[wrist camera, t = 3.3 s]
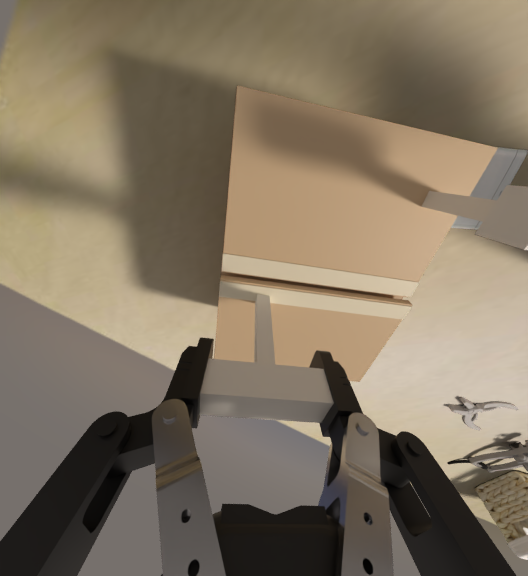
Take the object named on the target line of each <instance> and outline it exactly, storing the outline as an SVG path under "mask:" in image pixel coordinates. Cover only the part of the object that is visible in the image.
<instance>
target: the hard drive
mask: <svg viewBox="0 0 528 576" xmlns="http://www.w3.org/2000/svg"><path fill="white" fill-rule="evenodd" d="M496 148H498V149H497V151H496V152H495V154H494V156H493V157H492V159H491V161H490V162H489V164H488V166H487V168H486V169H485V171H484V173H483V174H482V176H481V178H480V179H479V181H478V183H477V184H476V186H475V188H474V189H473V191H472V193H471V194H470V197H477V198H484V199H491V200H498V198H499V196H500V195H501V193H502V192H503V190H504V189H505V187H506V186H507V185H510V184H511V182H512V180H513V178H514V177H515V175H516V173H517V171H518V170H519V168H520V166H521V164H522V162H523V161H524V159H525V157H526V155H527V151H528V150H521V149H511V148H501V147H496ZM481 224H482V221H478V220H474V219H470V218H465V217H461V216H457V218H456V220H455V221H454V223H453V225H452V227H451V228H460V229H475V230H478V228H479V227H480V225H481Z"/></svg>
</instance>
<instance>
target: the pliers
mask: <svg viewBox="0 0 528 576" xmlns="http://www.w3.org/2000/svg"><path fill="white" fill-rule="evenodd" d="M459 399H460V400H461V401H462V402H463V403H464V405H463V406H460V405H452V404H449V405H448V407H449V408H450V409H451V411H452V412H455V413H458V414H461V415H464V417H463V420H464V422H465V423H466V424H467V426H469V427H470V428H472V429H476V430H481V428H480V427H478V426H476V425H475V424H473V423H474V421H475V420H476V419H477V418H478V414H477V412H482V411H490V410H494V409H497V408H500V407H505V408H511V409H515V410H518V408H517V407H516V406H515V405H513V404H511V403H507V402H498V401H495V402H487V403H476V406H475V405H474V404H473V403H472V402H471V401H469V400H467V399H465V398H463V397H460V398H459ZM484 408H486V409H484ZM473 414H475V416H474V418H473V419H472V415H473Z"/></svg>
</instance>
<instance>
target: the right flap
mask: <svg viewBox="0 0 528 576" xmlns="http://www.w3.org/2000/svg"><path fill="white" fill-rule="evenodd" d="M411 308H412V304H411V303H410V302H409V301H408V300H401V299H393V298H386V297H379V296H372V295H364V294H357V293H350V292H342V291H335V290H328V289H320V288H313V287H306V286H298V285H291V284H284V283H276V282H269V281H262V280H254V279H247V278H240V277H232V276H225V275H221V278H220V286H219V302H218V315H217V329H216V342H215V355H214V359H210V358H209V359H208V363H207V367H206V371H205V375H204V380H203V384H202V388H201V392H200V415H203V416H219V417H235V418H251V419H269V420H284V421H300V422H317V423H321V422H322V421H323V419H324V418H325V416H326V414H327V413H328V411H329V410H330V408H331V407H332V405H333V403H334V402H333V399H332V396H331V392H330V389H329V385H328V382H327V379H326V375H325V372H324V369H319V368H309V366H310V364H311V361H312V359H313V356H314V354H315V352H316V351H317V350H319V351H328V352H330V353H331V355H332V358H333V360H334V361H337V362H339V364H340V365H341V366H342V367H343V368H344V370H345V372H346V375H347V377H348V379H349V381H356V382H360V380H361V379H362V378H363V376H364V375H365V373H366V372H367V370H368V369H369V367H370V366H371V364H372V363H373V361H374V360H375V359H376V357H377V356H378V354H379V353H380V351H381V350H382V348H383V347H384V345H385V344H386V343H387V341H388V340H389V338H390V337H391V335H392V334H393V332H394V331H395V329H396V328H397V327H398V325H399V324H400V322H401V321H402V320H404V318H405V317H406V315H407V314H408V312H409V311H410V309H411Z"/></svg>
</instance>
